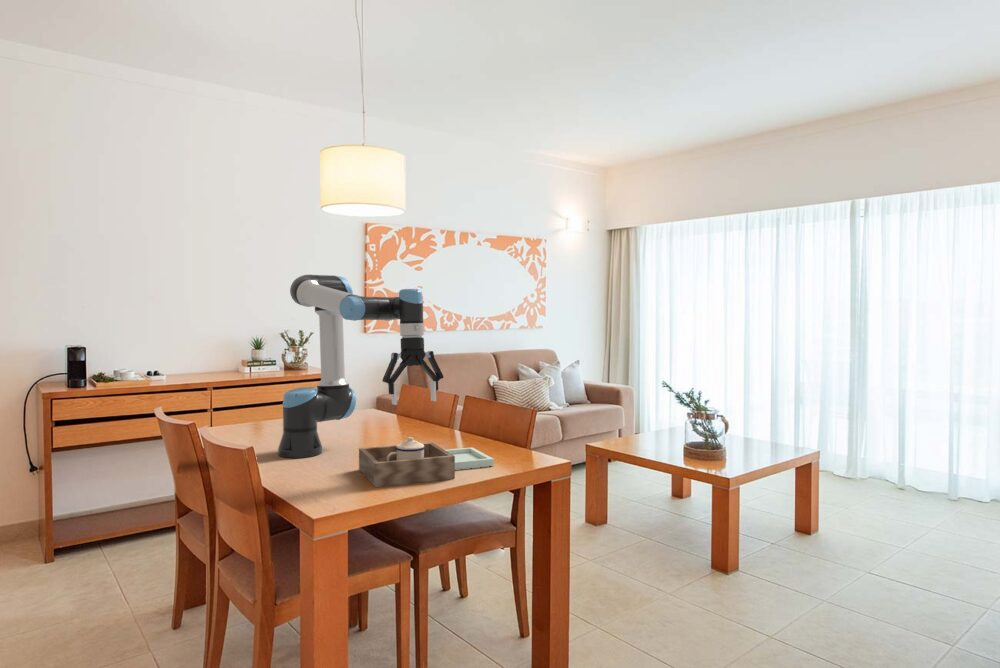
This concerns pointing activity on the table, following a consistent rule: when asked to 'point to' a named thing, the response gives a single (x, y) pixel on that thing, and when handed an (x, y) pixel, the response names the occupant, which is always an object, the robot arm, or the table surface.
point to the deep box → (405, 466)
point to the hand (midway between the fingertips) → (414, 402)
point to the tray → (470, 458)
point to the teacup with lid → (408, 450)
